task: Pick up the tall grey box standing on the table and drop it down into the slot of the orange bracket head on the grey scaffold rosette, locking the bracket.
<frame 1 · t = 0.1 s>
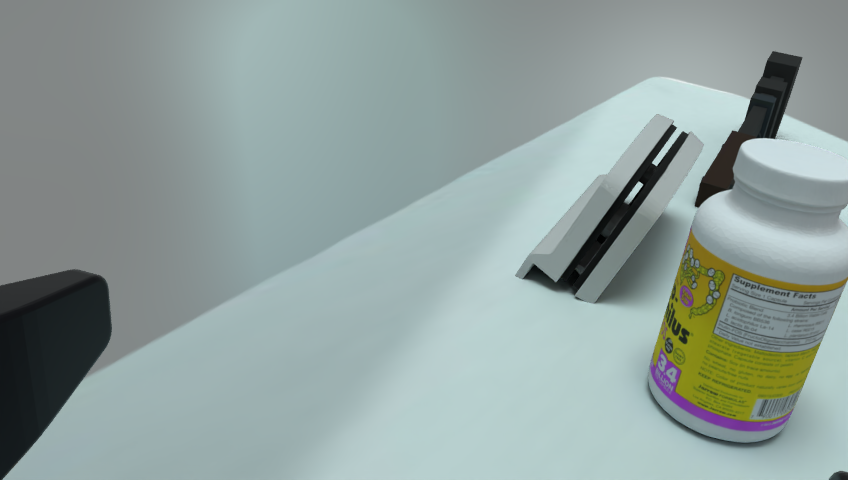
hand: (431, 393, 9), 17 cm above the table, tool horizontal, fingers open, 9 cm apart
supplement bottle: (711, 405, 37), on the table
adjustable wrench: (736, 173, 69), on the table
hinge: (608, 250, 52), on the table
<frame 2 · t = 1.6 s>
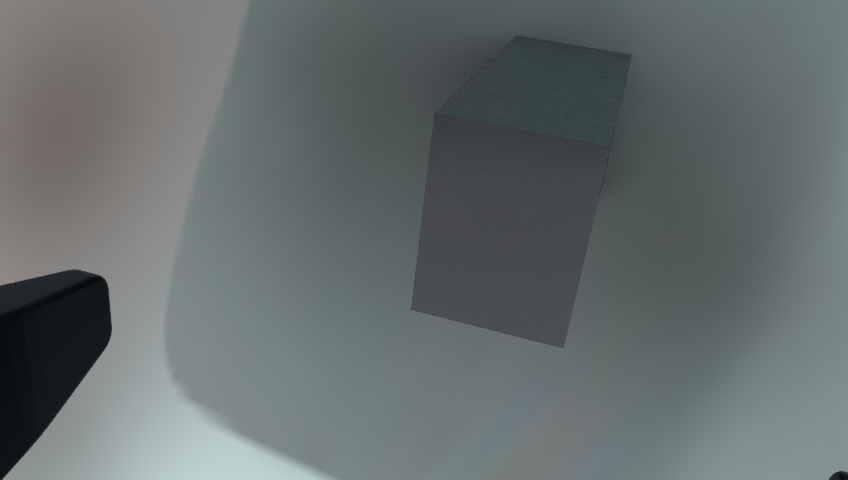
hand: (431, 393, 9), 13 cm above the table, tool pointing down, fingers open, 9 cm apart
tall grey box: (558, 119, 21), on the table
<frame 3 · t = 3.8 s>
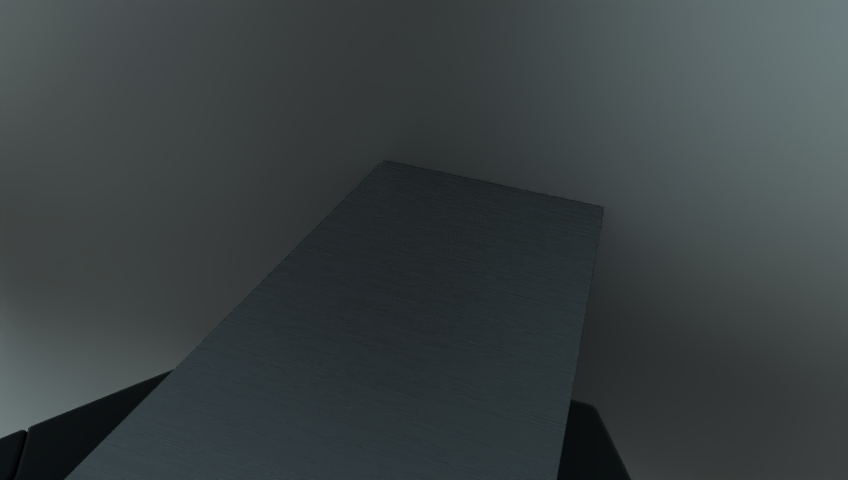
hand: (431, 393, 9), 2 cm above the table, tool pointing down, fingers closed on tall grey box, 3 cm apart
tall grey box: (469, 310, 11), on the table, touching gripper
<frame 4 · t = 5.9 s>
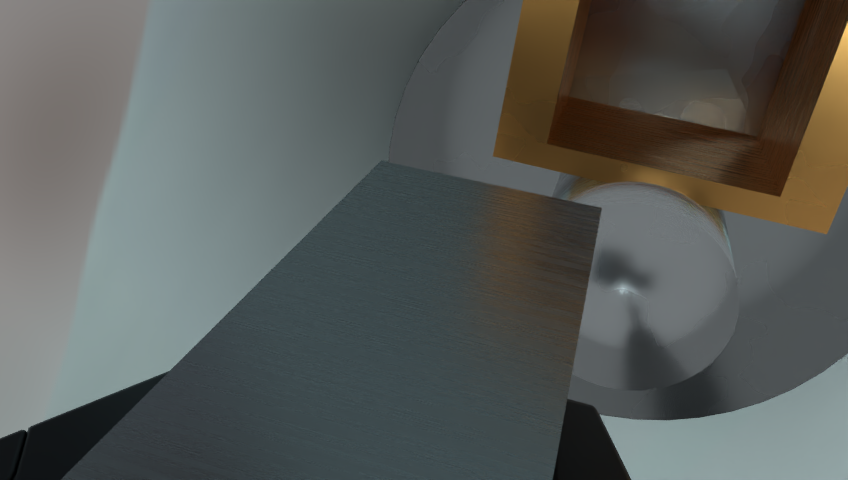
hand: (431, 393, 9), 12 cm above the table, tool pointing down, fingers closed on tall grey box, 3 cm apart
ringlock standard: (636, 187, 20), on the table
tall grey box: (467, 310, 11), point 10 cm above the table, touching gripper
when the fingers open (6 cm above the table, at t = 8.3 s): tall grey box drops 3 cm, resting on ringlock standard.
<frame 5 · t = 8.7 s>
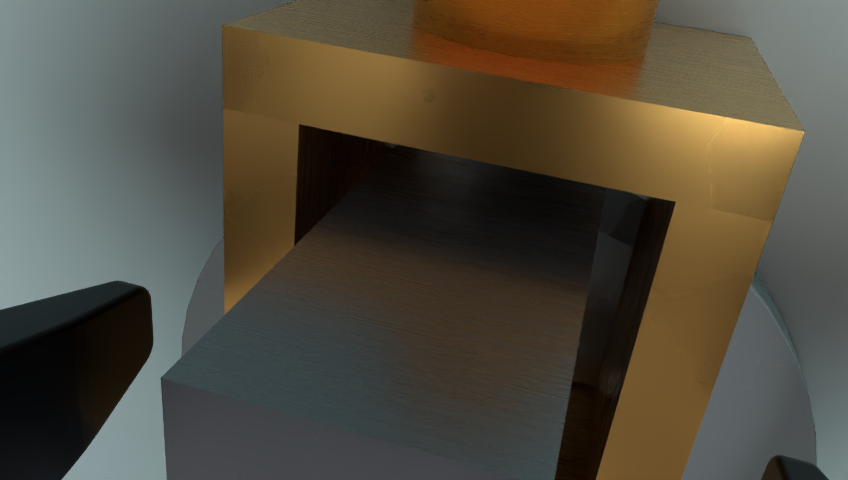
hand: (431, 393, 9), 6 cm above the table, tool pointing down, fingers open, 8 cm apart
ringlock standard: (477, 412, 17), on the table
tall grey box: (503, 233, 13), point 1 cm above the table, touching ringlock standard
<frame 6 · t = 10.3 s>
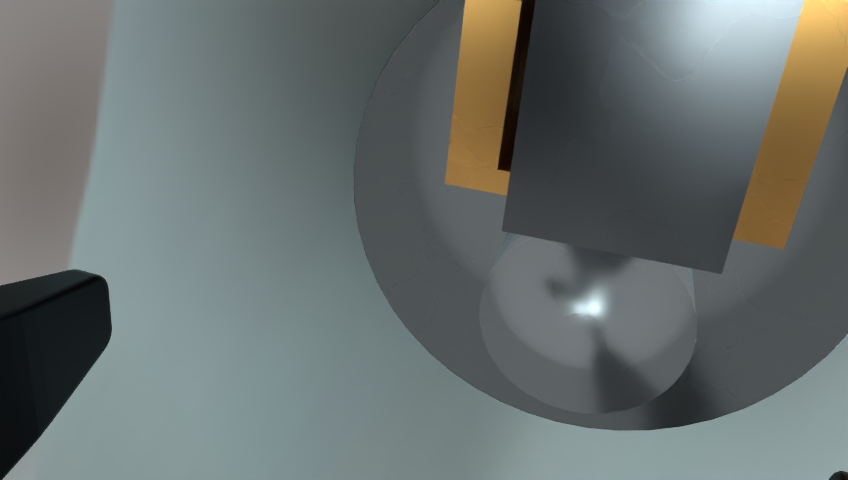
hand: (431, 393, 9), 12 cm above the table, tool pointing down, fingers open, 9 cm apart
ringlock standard: (604, 199, 20), on the table
tall grey box: (647, 11, 16), point 1 cm above the table, touching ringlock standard
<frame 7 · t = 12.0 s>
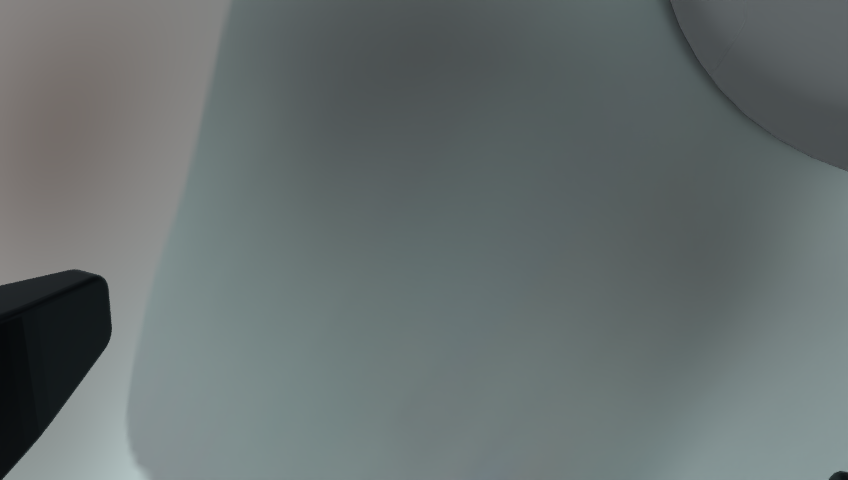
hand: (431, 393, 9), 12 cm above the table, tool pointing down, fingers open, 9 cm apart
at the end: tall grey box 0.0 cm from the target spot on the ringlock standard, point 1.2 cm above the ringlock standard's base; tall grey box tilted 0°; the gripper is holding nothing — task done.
